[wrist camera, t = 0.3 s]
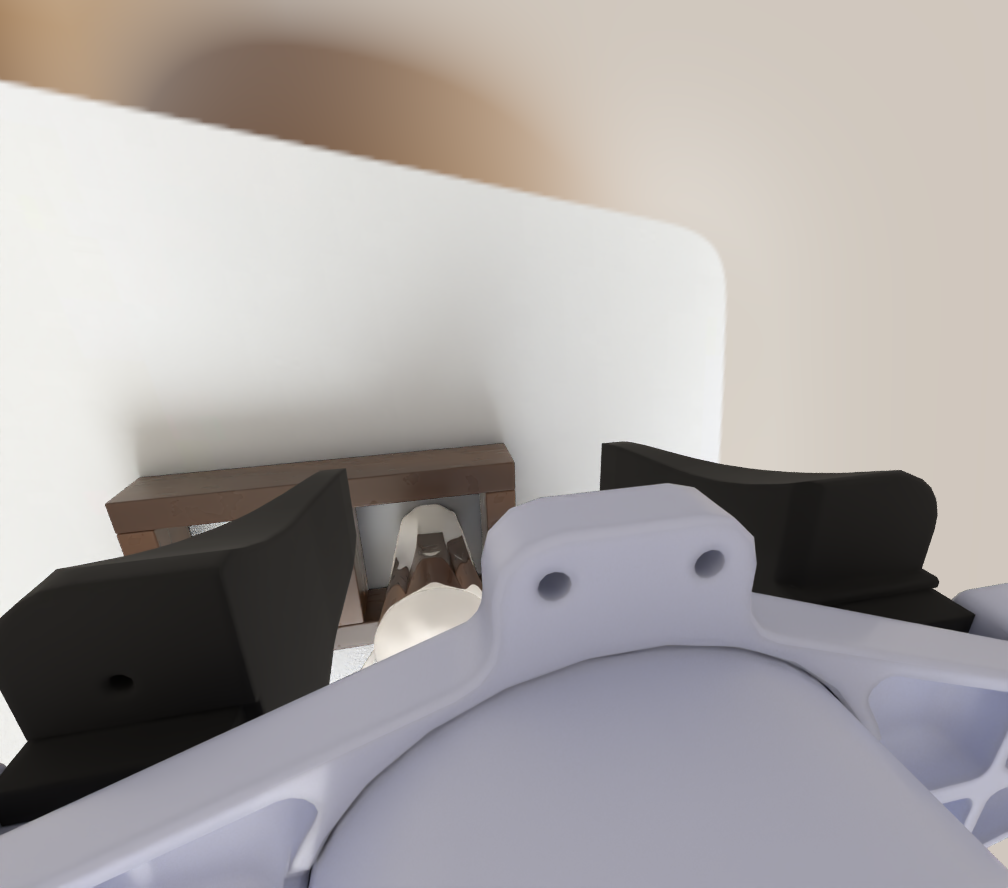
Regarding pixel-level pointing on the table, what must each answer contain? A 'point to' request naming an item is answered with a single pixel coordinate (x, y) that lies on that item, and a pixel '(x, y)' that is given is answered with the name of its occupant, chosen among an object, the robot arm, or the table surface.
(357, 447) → the table surface
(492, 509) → the rack
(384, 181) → the table surface
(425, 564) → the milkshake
